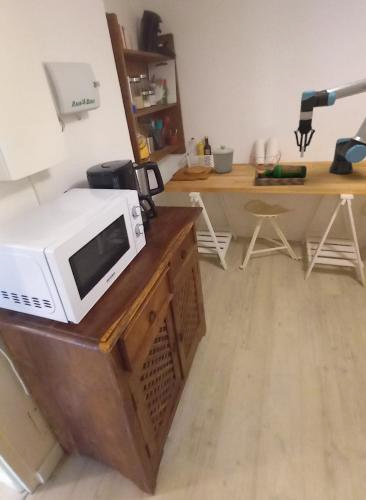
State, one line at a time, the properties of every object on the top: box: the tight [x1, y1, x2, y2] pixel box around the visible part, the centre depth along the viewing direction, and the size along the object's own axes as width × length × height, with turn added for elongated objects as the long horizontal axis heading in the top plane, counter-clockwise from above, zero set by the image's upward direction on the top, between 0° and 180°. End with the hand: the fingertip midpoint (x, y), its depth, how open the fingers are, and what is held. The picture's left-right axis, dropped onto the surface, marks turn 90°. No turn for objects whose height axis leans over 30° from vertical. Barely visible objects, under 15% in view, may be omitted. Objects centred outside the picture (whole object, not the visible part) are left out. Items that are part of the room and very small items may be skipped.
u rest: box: [254, 169, 305, 187], centre depth 205 cm, size 32×17×6 cm, turn 77°
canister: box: [211, 144, 235, 174], centre depth 236 cm, size 18×18×21 cm
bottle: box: [262, 164, 307, 179], centre depth 204 cm, size 11×11×28 cm
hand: (301, 156), depth 195 cm, fingers closed
